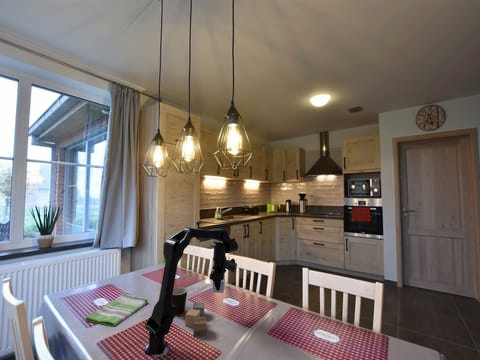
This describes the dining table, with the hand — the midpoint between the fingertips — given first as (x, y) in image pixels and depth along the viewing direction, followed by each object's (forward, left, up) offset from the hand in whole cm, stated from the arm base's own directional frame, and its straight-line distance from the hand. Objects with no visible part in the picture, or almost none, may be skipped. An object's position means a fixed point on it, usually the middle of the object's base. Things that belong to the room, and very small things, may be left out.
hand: (218, 288), depth 109 cm
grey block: (0, +9, -13) cm, 16 cm away
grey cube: (0, 0, -1) cm, 1 cm away
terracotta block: (-7, +10, -13) cm, 18 cm away
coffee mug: (+4, +20, -13) cm, 24 cm away
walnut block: (-13, +6, -13) cm, 19 cm away
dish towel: (+1, +49, -14) cm, 51 cm away
